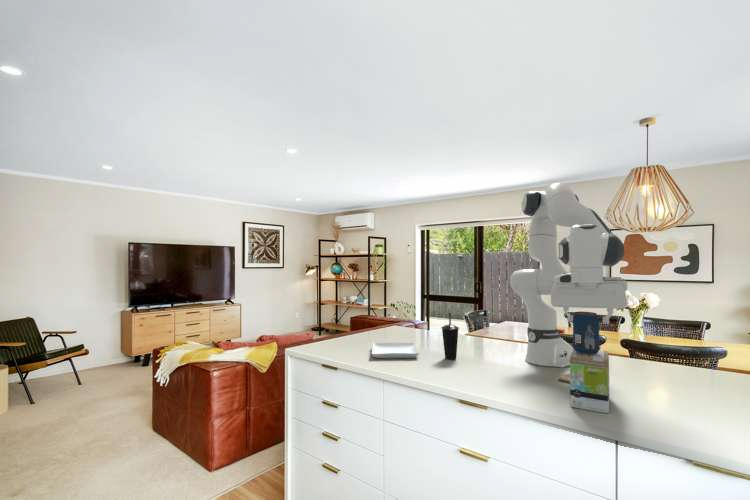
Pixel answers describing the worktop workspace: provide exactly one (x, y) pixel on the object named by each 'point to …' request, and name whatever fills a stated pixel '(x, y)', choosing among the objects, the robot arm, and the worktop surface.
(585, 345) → the soda can
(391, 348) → the salad plate
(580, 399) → the tea box
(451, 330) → the drinking cup
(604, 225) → the robot arm
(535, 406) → the worktop surface
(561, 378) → the walnut coaster
